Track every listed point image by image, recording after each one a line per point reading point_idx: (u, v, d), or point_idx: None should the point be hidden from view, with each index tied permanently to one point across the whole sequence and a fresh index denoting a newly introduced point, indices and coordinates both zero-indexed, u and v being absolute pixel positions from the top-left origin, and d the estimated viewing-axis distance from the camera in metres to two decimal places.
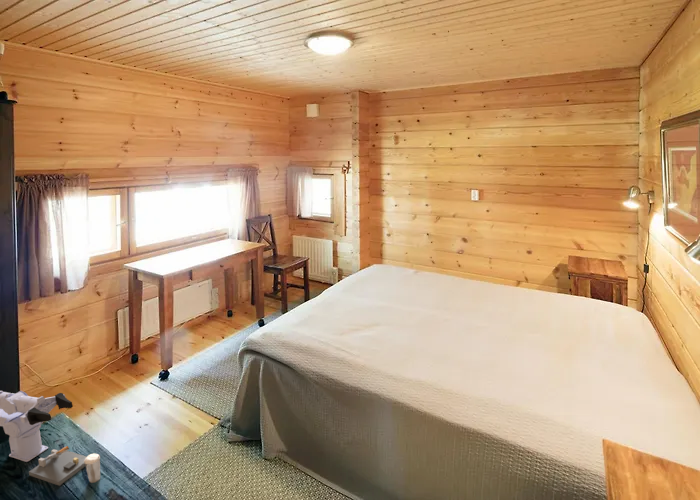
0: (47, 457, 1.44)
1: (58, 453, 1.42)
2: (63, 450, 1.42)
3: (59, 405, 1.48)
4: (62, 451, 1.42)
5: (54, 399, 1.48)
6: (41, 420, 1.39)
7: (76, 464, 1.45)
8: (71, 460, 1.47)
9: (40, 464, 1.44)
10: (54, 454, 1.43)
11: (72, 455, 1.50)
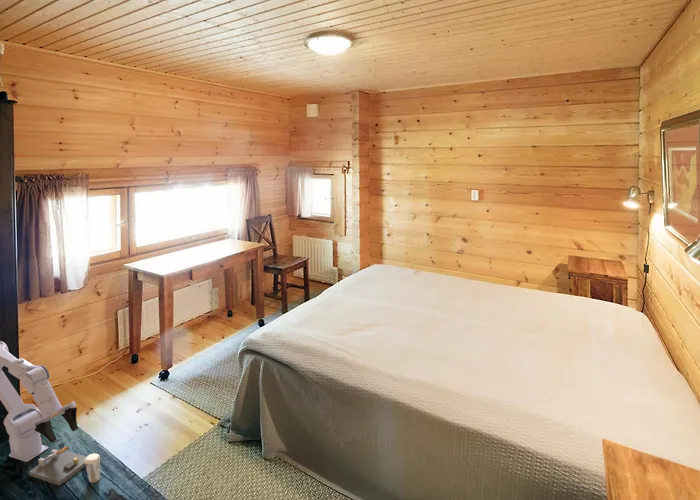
0: (47, 457, 1.44)
1: (58, 453, 1.42)
2: (63, 450, 1.42)
3: None
4: (62, 451, 1.42)
5: (63, 408, 1.42)
6: None
7: (76, 464, 1.45)
8: (71, 460, 1.47)
9: (40, 464, 1.44)
10: (54, 454, 1.43)
11: (72, 455, 1.50)
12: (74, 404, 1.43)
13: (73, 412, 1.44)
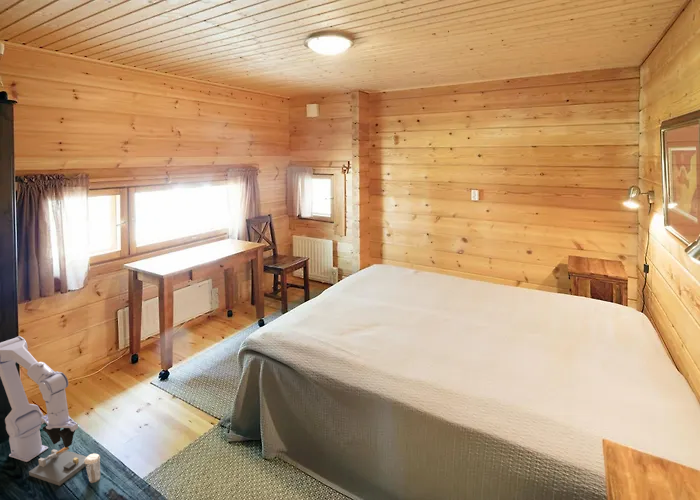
0: (47, 457, 1.44)
1: (58, 453, 1.42)
2: (63, 450, 1.42)
3: None
4: (62, 451, 1.42)
5: None
6: None
7: (76, 464, 1.45)
8: (71, 460, 1.47)
9: (40, 464, 1.44)
10: (54, 454, 1.43)
11: (72, 455, 1.50)
12: (75, 428, 1.38)
13: None
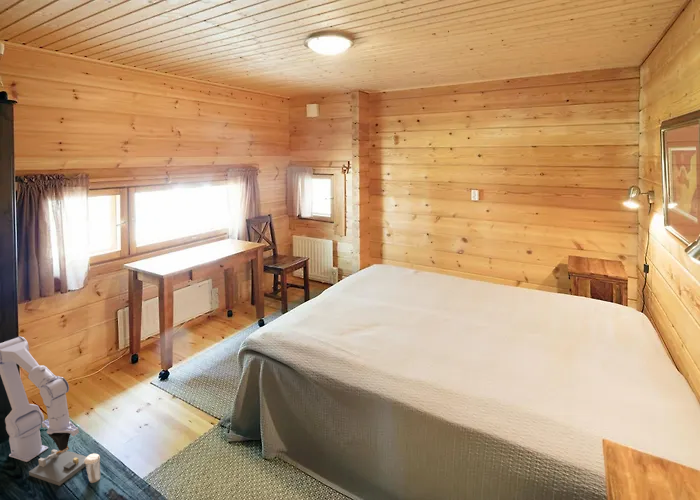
0: (47, 457, 1.44)
1: (58, 453, 1.42)
2: (63, 450, 1.42)
3: None
4: (62, 451, 1.42)
5: None
6: None
7: (76, 464, 1.45)
8: (71, 460, 1.47)
9: (40, 464, 1.44)
10: (54, 454, 1.43)
11: (72, 455, 1.50)
12: (76, 432, 1.39)
13: (67, 433, 1.42)
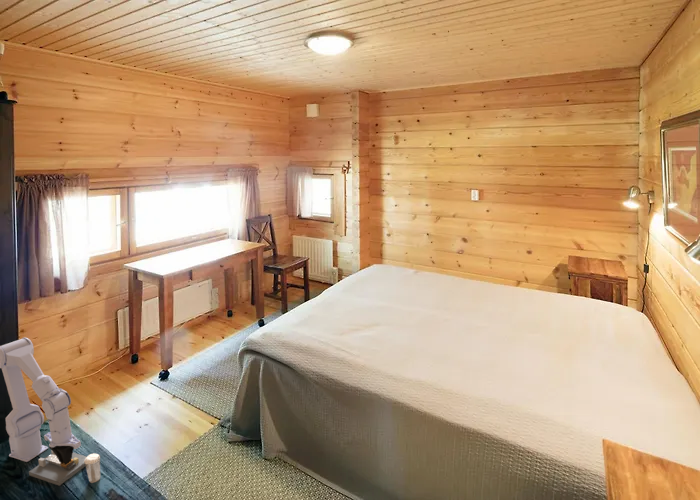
0: (48, 460, 1.44)
1: (62, 465, 1.42)
2: (68, 464, 1.43)
3: None
4: (67, 465, 1.43)
5: None
6: None
7: (76, 464, 1.45)
8: None
9: (40, 464, 1.44)
10: (57, 462, 1.43)
11: (72, 455, 1.50)
12: (78, 445, 1.40)
13: (71, 446, 1.43)
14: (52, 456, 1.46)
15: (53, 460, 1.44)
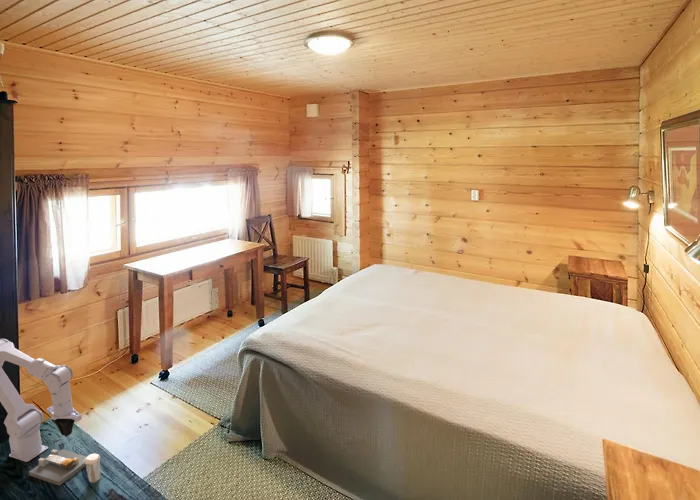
0: (48, 460, 1.44)
1: (62, 465, 1.42)
2: (68, 464, 1.43)
3: None
4: (67, 465, 1.43)
5: None
6: None
7: (76, 464, 1.45)
8: None
9: (40, 464, 1.44)
10: (57, 462, 1.43)
11: (72, 455, 1.50)
12: (78, 418, 1.45)
13: (72, 419, 1.48)
14: (52, 456, 1.46)
15: (53, 460, 1.44)
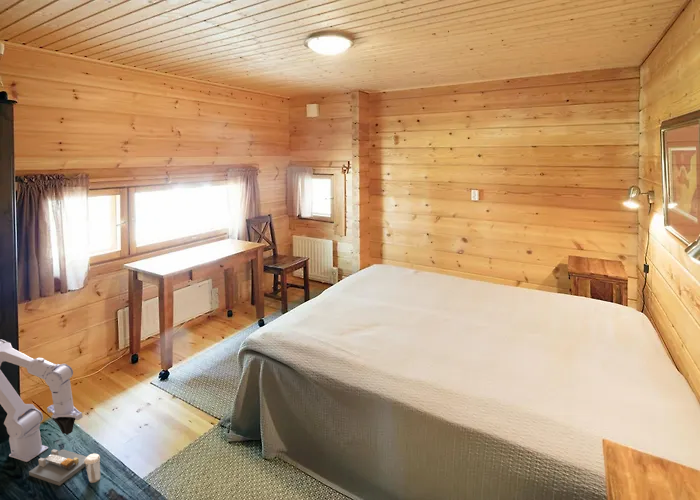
0: (48, 460, 1.44)
1: (62, 465, 1.42)
2: (68, 464, 1.43)
3: None
4: (67, 465, 1.43)
5: None
6: None
7: (76, 464, 1.45)
8: None
9: (40, 464, 1.44)
10: (57, 462, 1.43)
11: (72, 455, 1.50)
12: (79, 417, 1.46)
13: (72, 418, 1.49)
14: (52, 456, 1.46)
15: (53, 460, 1.44)
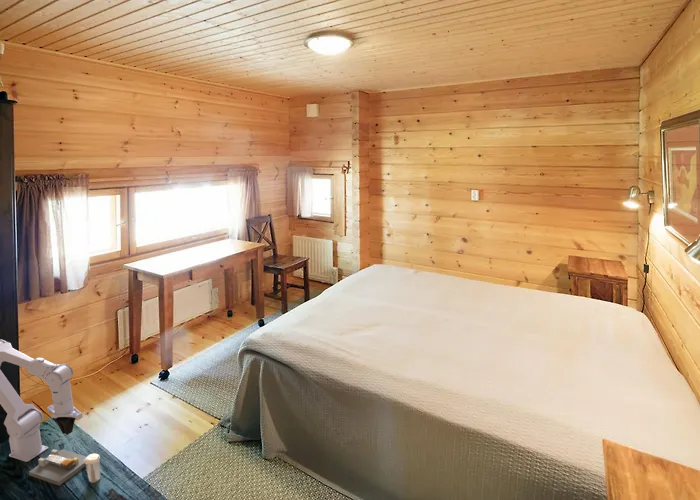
0: (48, 460, 1.44)
1: (62, 465, 1.42)
2: (68, 464, 1.43)
3: None
4: (67, 465, 1.43)
5: None
6: None
7: (76, 464, 1.45)
8: None
9: (40, 464, 1.44)
10: (57, 462, 1.43)
11: (72, 455, 1.50)
12: (79, 417, 1.46)
13: (72, 418, 1.49)
14: (52, 456, 1.46)
15: (53, 460, 1.44)
